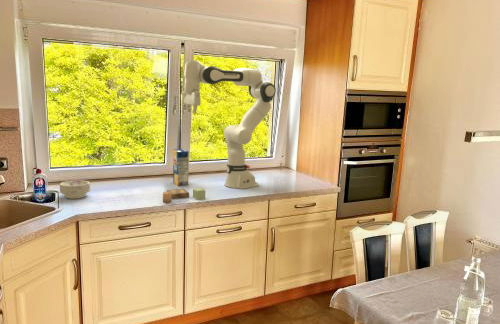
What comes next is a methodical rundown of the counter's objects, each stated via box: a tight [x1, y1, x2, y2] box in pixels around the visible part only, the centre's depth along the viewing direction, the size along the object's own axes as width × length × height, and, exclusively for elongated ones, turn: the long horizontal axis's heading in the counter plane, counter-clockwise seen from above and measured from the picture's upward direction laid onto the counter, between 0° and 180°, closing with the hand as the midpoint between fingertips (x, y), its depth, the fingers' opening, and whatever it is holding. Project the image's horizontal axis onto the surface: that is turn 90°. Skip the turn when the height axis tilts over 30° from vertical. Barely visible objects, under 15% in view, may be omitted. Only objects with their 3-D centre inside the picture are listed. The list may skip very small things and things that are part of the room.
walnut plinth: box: [166, 188, 190, 200], centre depth 220 cm, size 10×10×2 cm
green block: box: [192, 187, 206, 200], centre depth 217 cm, size 6×6×5 cm
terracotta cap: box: [162, 191, 172, 204], centre depth 207 cm, size 4×4×5 cm
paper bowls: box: [59, 179, 91, 200], centre depth 209 cm, size 15×15×8 cm
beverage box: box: [172, 148, 190, 187], centre depth 245 cm, size 7×11×22 cm, turn 27°
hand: (191, 112), depth 224 cm, fingers open, 8 cm apart
